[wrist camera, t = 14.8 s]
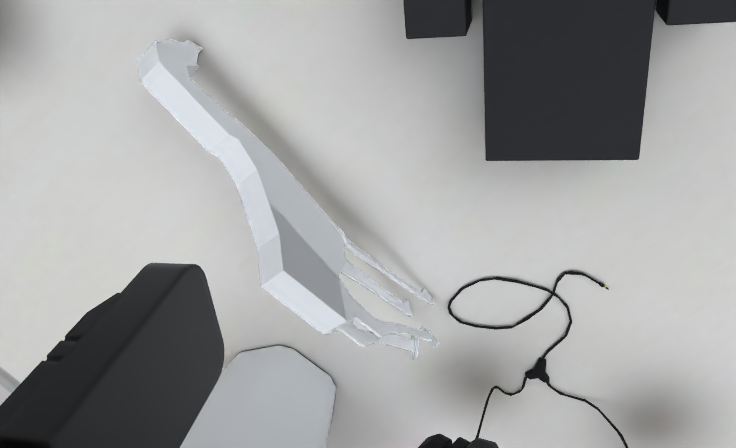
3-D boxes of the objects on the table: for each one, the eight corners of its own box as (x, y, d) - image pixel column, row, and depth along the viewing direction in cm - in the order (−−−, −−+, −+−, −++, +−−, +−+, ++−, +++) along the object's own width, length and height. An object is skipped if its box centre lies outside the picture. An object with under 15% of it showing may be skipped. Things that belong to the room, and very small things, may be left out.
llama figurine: (421, 207, 39) (165, 15, 29) (446, 372, 31) (109, 186, 22) (398, 222, 40) (142, 41, 30) (418, 386, 32) (81, 214, 22)
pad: (489, 134, 30) (485, 161, 27) (486, -110, 25) (480, -106, 22) (629, 132, 28) (639, 160, 26) (654, -127, 23) (668, -125, 21)
